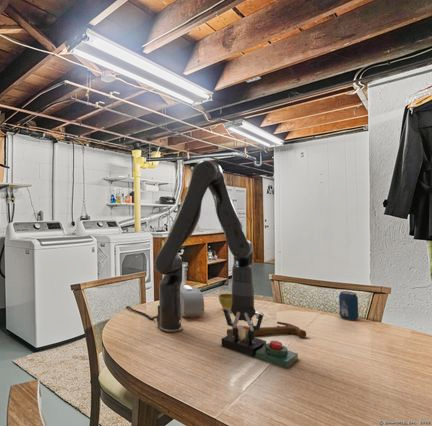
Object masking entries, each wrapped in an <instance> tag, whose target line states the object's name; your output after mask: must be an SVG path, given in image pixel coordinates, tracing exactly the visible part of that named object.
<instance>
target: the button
mask: <svg viewBox="0 0 432 426" xmlns="http://www.w3.org/2000/svg"><path fill="white" fill-rule="evenodd" d="M269 343H270V347H271V348H273V349H277V350H282V345H283V343H282V342H281V341H279V340H270V341H269Z"/></svg>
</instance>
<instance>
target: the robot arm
mask: <svg viewBox="0 0 432 426" xmlns="http://www.w3.org/2000/svg"><path fill="white" fill-rule="evenodd" d="M207 190H209V191H210V193H211V196H212V199H213V203H214V207H215V214H216V217H217V220H218V222H219V225H220V227H221V229H222V231H223V233H224V235H225V240H226V244H227V247H228V249H229V251H230V253H231V255H232V256H233V264H232V267H231V294H232V307H231V308H229V309H227V308H225V309H223V314H224V315H223V316H224V317H225V321H226V324H227V326H228V327H231V329H233V336H235V338H237V326H238V323H239V321H243V322H246V323H247V325H248V327H249V328H250V331H249V334H250V341H252V340H254V338H255V336H254V331H255V330H259V328H260V327H261V325H262V322H263V318H264V313H263V312H258V311H256V309H255V288H254V279H253V274H254V273H253V258H254V246H253V244H252V242H251V241H250V240H249V239H247V237H246V235H245V233H244V230H243V229H244V228H243V225H242V224H243V223H242V222H241V219H240V217H239V215H238V213H237V210H236V208H235V206H234V204H233V202H232V198H231V196H230V194H229V191H228V187H227V184H226V181H225V176H224V173H223V170H222V167H221V165H220V164H219V163H217V162H216V161H211V160H206V159H205V160H201V161H199V162H197V163H196V164H195V165H194V167H193V169H192V172H191V175H190V179H189V182H188V185H187V188H186V191H185V193H184V196H183V198H182V199H181V200H182V201H181V203H180V205H179V208H178V209H177V212H176V214H175V216H174V219H173V222H172V225H171V227H170V229H169V231H168V234H167V235H166V238H165V240H164V242H163V244H162V245H161V248H160V249H159V251H158V254H157V255H156V258H155V260H154V268H155V271H156V272H157V274H159V275H163V277H162V279H161V280H160V281H159V283H158V301H159V303H158V305H157V314H156V315H154V316H152V317H151V316H149V315H148V314H147V313H145V312H142V311H139V310H136V309H134V308H132V307H131V306H130V305H127V306H125V309H129V310H131V311H132V312H134V313H137V314H141V315H144V316H145V317H146V318H147V319H149V320H151V321H153V320H155V319H156V322H157V327H158V328H159V330H161V331H163V332H165V333H177V332H180V331H181V330H182V323H183V318H182V315H181V293H180V286H182V283H183V260H182V257H181V256H180V254H179V253H178V252H179V250H180V249H181V248H182V246H183V245H184V244H185V243H186V242H187V241H188V239H190V237H191V236H192V235H193V233H194V232H195V230H196V228H197V226H198V223H199V221H200V219H201V214H202V204H203V199H204V197H205V194H206V192H207ZM231 313H232V314H233V316H234V320H233V321H232V317H231ZM254 316H255V318H256V320H257V322H256V325H254V321H253V317H254Z"/></svg>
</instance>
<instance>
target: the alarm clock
mask: <svg viewBox="0 0 432 426" xmlns="http://www.w3.org/2000/svg"><path fill="white" fill-rule="evenodd" d="M180 293H181V317H184V318H201V317H202V316H203V315H204V314H205V299H204V295H203V293H202V291H200V289H199V288H197V287H196V286H194V285H190V284H184V285H183V286H182V285H181V286H180Z"/></svg>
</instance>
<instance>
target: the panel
mask: <svg viewBox="0 0 432 426" xmlns="http://www.w3.org/2000/svg"><path fill="white" fill-rule="evenodd" d="M266 344H267V340H264V339H262V338H257V337H254V340H252V341H249V342H242V341H239V340H238V339H237V338H235V336H233V333H232V334H230V335H228V336H227V335H225V336H223V337H222V338H221V347H222V348H225V349H227V350H228V349H229V350H231V351H234V352H236V353H240V354H243V355H245V356H249V357H252V358H256V351H257V350H259V349H260V348H262V347H263V346H265V345H266Z"/></svg>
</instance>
